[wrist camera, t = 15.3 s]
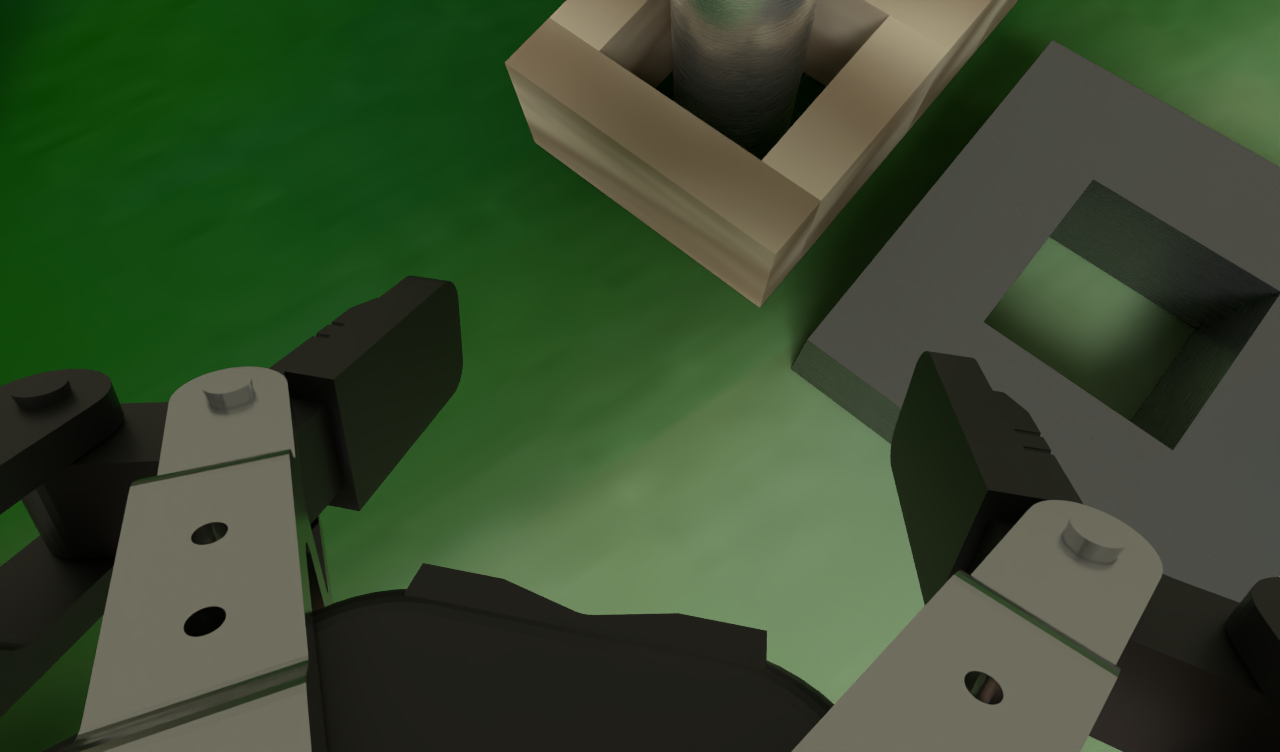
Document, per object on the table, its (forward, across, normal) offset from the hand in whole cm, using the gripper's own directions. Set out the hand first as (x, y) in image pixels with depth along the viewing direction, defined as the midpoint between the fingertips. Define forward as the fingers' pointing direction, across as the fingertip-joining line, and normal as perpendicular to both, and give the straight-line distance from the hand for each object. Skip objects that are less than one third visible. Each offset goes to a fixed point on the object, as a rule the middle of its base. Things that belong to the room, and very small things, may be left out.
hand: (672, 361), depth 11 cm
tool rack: (+18, -2, -5) cm, 19 cm away
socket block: (+10, -11, +3) cm, 15 cm away
